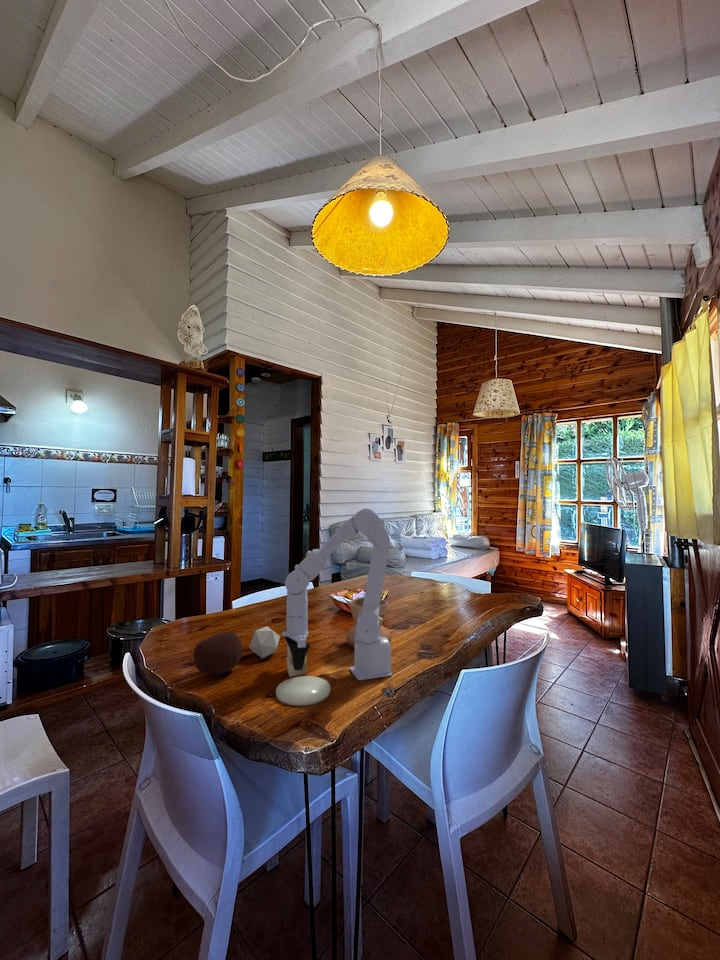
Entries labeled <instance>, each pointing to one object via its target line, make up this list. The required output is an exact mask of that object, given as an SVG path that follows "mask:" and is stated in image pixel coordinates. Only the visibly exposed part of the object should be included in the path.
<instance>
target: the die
mask: <svg viewBox="0 0 720 960" xmlns="http://www.w3.org/2000/svg"><path fill="white" fill-rule="evenodd" d="M280 638H281V636H280V635H279V634H277V632H275V631H274V630H272V629H271V628H270V627H269V626H263V627H262V628H259V629H257V630H255V631H254V634H253V637H252V638H251V642H250V644H249V648H248V649H250V651H252V653H253V652H254V653H255V654H256V655H257V656H258V657H260V658H261V659H262V660H263V659H265V658H267V657H269V656H271V655H273V654H275V652H276V650H277V649H278V646H279V641H280Z"/></svg>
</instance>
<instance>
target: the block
mask: <svg viewBox="0 0 720 960" xmlns="http://www.w3.org/2000/svg"><path fill="white" fill-rule="evenodd" d="M286 646H287V648H286V649H287V650H286V651H287V652H286V657H287V658H286V670H287V673H288V676H289V678H290V677H291V678H292V677H299V676H304V675H305V676H306V675H307V672H308V670H307V665H308V663H307V662H308V660H307V659H308V657H307V656H308V655H307V653H308V652H307V653H306V656H305V661H304V665H303V669H302V670H294V666H293V658H292V653H291V650H290V648H289V646H288V644H287V643H286Z"/></svg>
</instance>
